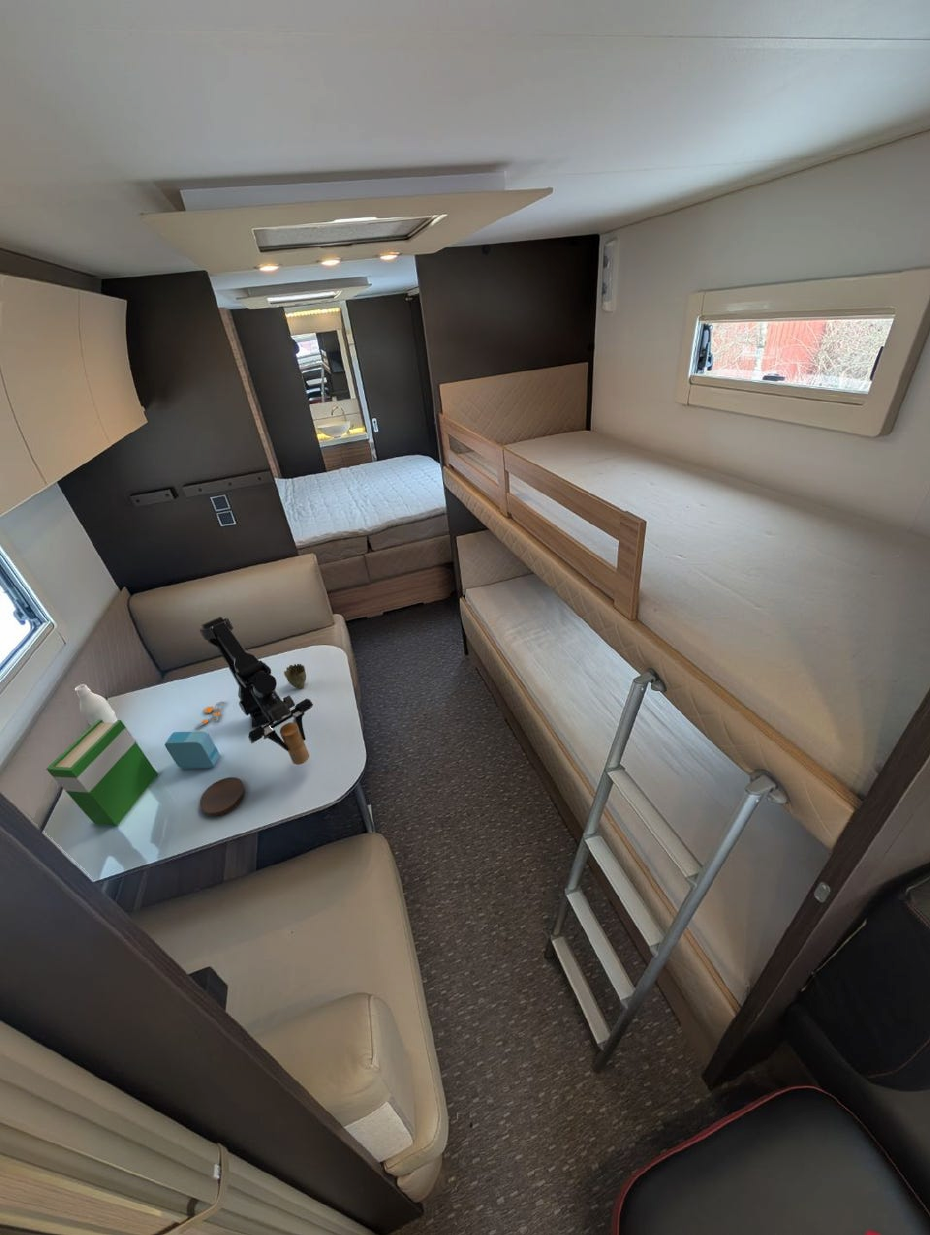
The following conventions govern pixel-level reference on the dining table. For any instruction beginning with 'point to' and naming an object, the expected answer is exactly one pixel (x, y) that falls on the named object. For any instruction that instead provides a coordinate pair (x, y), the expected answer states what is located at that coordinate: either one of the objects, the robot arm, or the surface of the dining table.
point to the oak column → (294, 743)
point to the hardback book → (104, 772)
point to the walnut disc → (222, 797)
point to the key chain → (213, 714)
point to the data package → (192, 749)
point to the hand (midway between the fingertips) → (296, 745)
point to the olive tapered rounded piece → (296, 675)
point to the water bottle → (94, 706)
